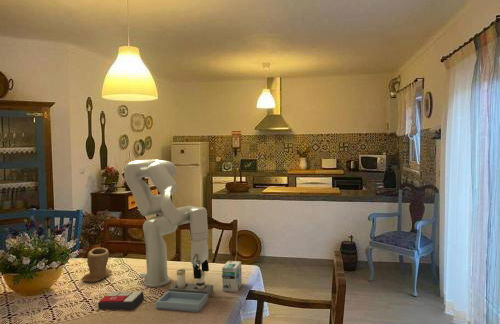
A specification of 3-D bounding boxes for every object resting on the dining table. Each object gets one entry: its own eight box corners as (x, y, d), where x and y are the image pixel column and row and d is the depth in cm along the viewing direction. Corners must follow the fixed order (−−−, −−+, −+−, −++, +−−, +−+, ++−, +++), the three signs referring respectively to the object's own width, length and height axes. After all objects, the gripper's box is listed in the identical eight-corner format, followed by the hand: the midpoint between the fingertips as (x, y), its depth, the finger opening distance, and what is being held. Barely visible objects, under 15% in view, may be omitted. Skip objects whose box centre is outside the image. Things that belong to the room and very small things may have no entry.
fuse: (175, 294, 173) (175, 271, 172) (179, 290, 177) (178, 269, 176) (183, 294, 172) (183, 272, 172) (187, 291, 176) (186, 269, 175)
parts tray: (156, 308, 158) (156, 301, 158) (168, 298, 169) (167, 291, 169) (198, 312, 154) (198, 304, 154) (207, 300, 165) (207, 293, 165)
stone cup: (99, 284, 187) (98, 253, 186) (78, 282, 190) (77, 252, 189) (118, 274, 201) (117, 245, 201) (99, 272, 205) (97, 243, 204)
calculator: (110, 290, 170) (143, 289, 168) (111, 300, 170) (144, 299, 168) (97, 301, 159) (132, 300, 157) (98, 311, 159) (133, 310, 157)
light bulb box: (236, 292, 174) (236, 268, 173) (222, 291, 175) (221, 267, 174) (242, 283, 184) (241, 261, 184) (228, 282, 185) (227, 260, 185)
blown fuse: (195, 295, 171) (194, 272, 170) (198, 292, 175) (197, 270, 174) (203, 296, 170) (202, 273, 170) (206, 292, 174) (205, 270, 173)
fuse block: (168, 295, 172) (168, 288, 171) (175, 288, 179) (175, 282, 179) (207, 298, 168) (207, 291, 167) (213, 291, 175) (213, 284, 175)
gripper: (198, 231, 180) (200, 268, 181) (183, 240, 163) (185, 281, 164) (213, 231, 178) (215, 268, 179) (200, 240, 162) (202, 281, 162)
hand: (201, 274), depth 171 cm, fingers open, 9 cm apart
